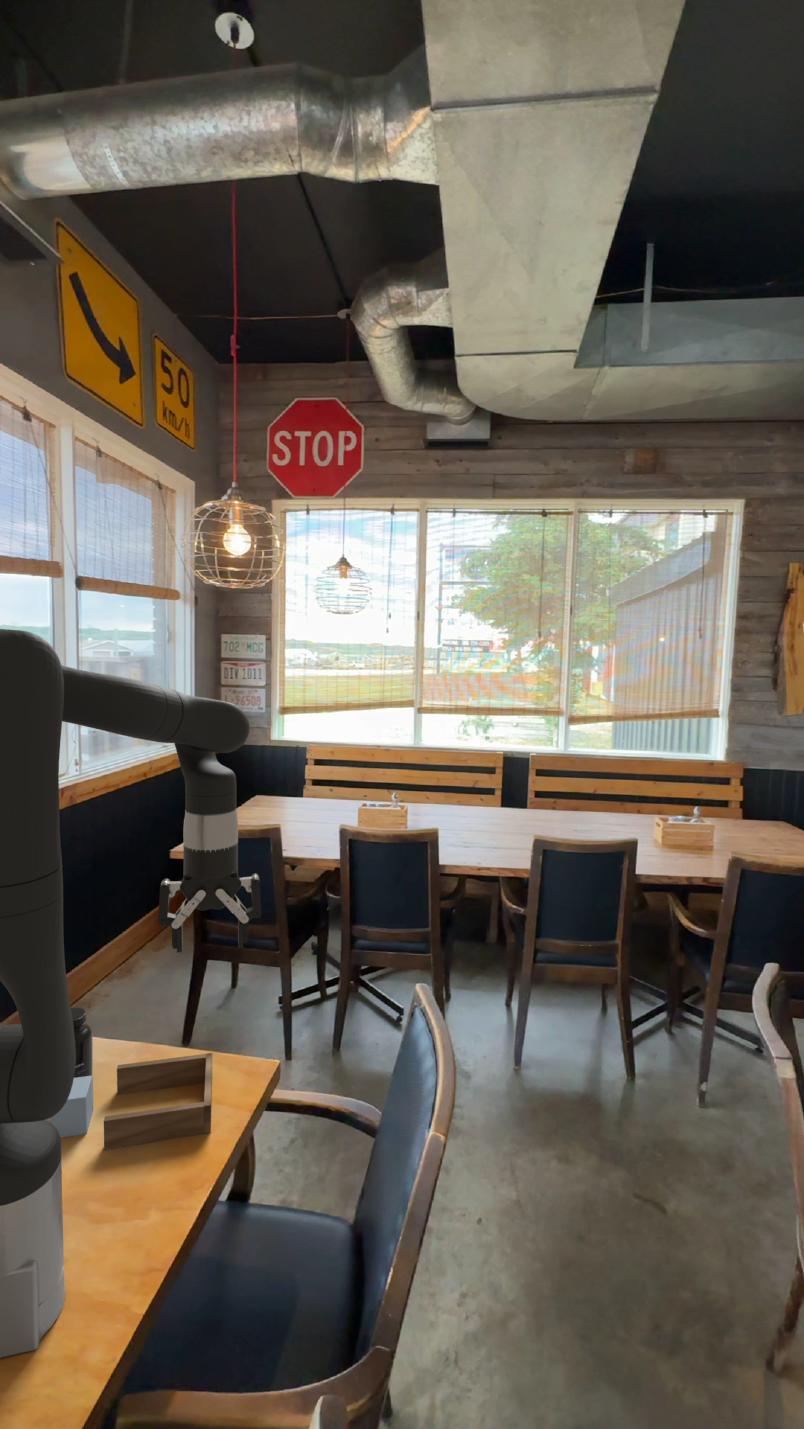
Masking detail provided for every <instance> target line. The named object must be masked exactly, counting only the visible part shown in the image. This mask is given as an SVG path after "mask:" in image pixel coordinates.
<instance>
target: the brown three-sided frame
mask: <svg viewBox="0 0 804 1429" xmlns="http://www.w3.org/2000/svg"><path fill="white" fill-rule="evenodd" d="M202 1083H204V1094H203V1097H204V1098H203V1101H201V1102H194V1103H188V1104H180V1105H174V1106H173V1105H172V1106H168V1107H167V1106H166V1107H160V1108H153V1109H152V1108H151V1109H146V1110H140V1111H139V1110H138V1111H134V1112H133V1111H132V1112H125V1113H119V1114H113V1115H105V1116H104V1119H103V1150H109V1149H111V1150H112V1149H117V1148H122V1147H129V1146H134V1145H142V1144H146V1143H147V1144H148V1143H155V1142H160V1141H169V1140H172V1139H174V1140H175V1139H179V1138H185V1137H193V1136H197V1135H205V1134H210V1133H212V1108H213V1107H212V1104H213V1102H212V1100H213V1096H212V1095H213V1052H209V1053H202V1054H193V1055H186V1056H178V1057H170V1058H169V1057H168V1058H162V1059H155V1060H147V1061H139V1062H132V1063H125V1064H124V1063H122V1064H117V1067H116V1084H117V1085H116V1088H117V1089H116V1094H117V1095H124V1094H130V1093H136V1092H137V1093H139V1092H145V1091H152V1090H157V1089H158V1090H159V1089H160V1090H161V1089H166V1088H174V1087H181V1086H189V1085H195V1084H202Z"/></svg>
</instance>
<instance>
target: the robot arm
mask: <svg viewBox="0 0 804 1429" xmlns="http://www.w3.org/2000/svg"><path fill="white" fill-rule="evenodd" d="M63 722H64V723H69V724H73V725H77V726H81V727H86V728H90V729H96V730H99V731H103V732H108V733H112V734H115V735H120V736H125V737H129V738H133V739H139V740H144V741H150V742H156V743H162V744H163V743H165V744H174V747H175V750H176V755H177V758H178V761H179V765H180V770H181V773H182V775H183V779H184V785H185V788H184V789H185V790H184V793H185V795H184V796H185V798H184V799H185V801H184V802H185V804H184V805H185V810H184V812H185V813H184V820H183V834H182V837H183V877H182V879H181V880H178V881H173V880H172V881H171V879H169V878H163V879H162V880H161V883H160V887H159V901H158V916H157V918H158V919H157V923H158V925H159V926H168V927H170V928H171V947H172V949H173V950H176V953H179V954H180V953H183V949H184V922H185V921H186V919H187V918H189V917H190V915H191V914H192V913H193V912H194V910H195V909H196V910H199V911H200V912H202V911H203V912H204V911H208V910H215V911H218V910H223V908H225V907H226V908H227V909H228V910H229V911H230V913H232V914H233V915H234V916H235V917H236V918H237V919H238V921H237V924H238V927H237V932H238V933H237V934H238V935H237V938H238V939H237V944H238V945H237V946H238V948H244V944H246V943H248V941H249V924H250V923H249V922H250V921H252V920H253V919H259V918H261V916H262V901H261V900H262V899H261V898H262V897H261V884H260V876H259V874H258V873H253V874H251V875H250V876H243V877H241V876H240V874H239V871H238V870H239V833H240V832H239V824H238V823H239V821H238V820H239V819H238V814H237V777H236V774H235V772H234V771H233V770H232V769H231V768H229V767H227V766H225V765H222V764H221V763H220V762H219V761H218V759H217V756H216V753H220V754H227V753H231V752H235V751H237V750H238V749H239V748H241V747H242V746H243V745H244V744H245V743H246V742H247V739H248V737H249V733H250V722H249V718H248V716H247V714H246V713H245V712H244V711H243V709H241V708H240V707H239V706H238V705H236V704H235V703H232V702H227V701H224V700H219V699H212V698H207V697H201V696H195V695H190V694H186V693H182V692H180V691H178V690H175V689H171V688H168V687H165V686H162V685H159V684H155V683H151V682H147V681H141V680H137V679H133V678H128V677H122V676H116V675H111V674H105V673H98V672H92V671H87V670H83V669H78V668H75V667H74V668H73V667H71V666H70V667H69V666H67V665H66V666H65V665H62V663H61V660H60V657H59V656H58V654H57V652H56V650H55V649H54V647H53V646H52V645H51V644H50V643H49V642H48V641H47V640H46V639H45V638H44V637H41V635H38V634H36V633H33V632H30V631H26V630H22V629H21V630H20V629H10V628H9V629H8V628H7V629H3V628H0V982H1V983H2V984H3V986H4V988H5V989H6V990H7V991H8V993H9V995H10V996H11V998H12V1000H13V1002H14V1004H15V1006H16V1010H17V1012H18V1016H19V1020H20V1023H19V1024H18V1023H16V1024H14V1023H13V1024H0V1359H1V1358H4V1357H6V1358H7V1357H9V1356H10V1357H11V1356H14V1355H18V1354H22V1353H27V1352H32V1351H35V1350H37V1349H38V1348H39V1346H40V1342H41V1340H42V1338H43V1337H44V1335H45V1334H46V1333H47V1332H48V1331H49V1329H50V1328H51V1327H53V1325H54V1324H55V1321H56V1320H57V1319H58V1318H59V1316H60V1314H61V1311H62V1310H63V1306H64V1304H65V1297H66V1296H65V1290H66V1289H65V1288H66V1287H65V1261H64V1260H65V1259H64V1258H65V1257H64V1219H63V1218H64V1216H63V1215H64V1214H63V1212H64V1210H63V1175H62V1174H63V1173H62V1172H63V1170H62V1168H63V1167H62V1142H61V1138H60V1135H59V1132H58V1130H57V1129H56V1127H55V1126H54V1125H53V1124H52V1123H50V1121H48V1120H50V1118H51V1117H53V1116H54V1115H56V1114H57V1113H58V1112H59V1111H60V1110H61V1109H62V1108H63V1106H64V1105H65V1103H66V1101H67V1099H68V1097H69V1095H70V1092H71V1088H72V1085H73V1079H74V1073H75V1059H76V1052H75V1037H74V1028H73V1021H72V1014H71V1008H72V1007H71V1002H70V1001H71V1000H70V996H69V995H70V994H69V993H70V992H69V989H68V988H69V987H68V982H67V971H66V960H65V958H66V957H65V941H64V881H63V880H64V876H63V874H64V873H63V858H62V857H63V856H62V855H63V854H62V848H61V833H60V832H61V830H60V829H61V828H60V825H61V824H60V823H61V822H60V781H59V780H60V779H59V773H60V772H59V771H60V755H61V754H60V753H61V740H62V739H61V738H62V727H63ZM241 887H244V889H245V891H246V892H247V893H251V907H247V908H246V906H244V904H243V903H242V901H241V900H240V899H239V898H238V896H237V892H238V891H239V890H240V889H241ZM178 891H180V893H182V894H183V896H184V897H185V900H184V901H182V903H181V905H180V907H179V908H178V909H177V910H176V912H175V913H171V912H170V910H169V909H170V899H171V898H173V897H175V895H176V892H178Z"/></svg>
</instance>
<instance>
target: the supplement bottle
mask: <svg viewBox="0 0 804 1429" xmlns="http://www.w3.org/2000/svg"><path fill="white" fill-rule="evenodd" d="M71 1014H72V1021H73V1028H74V1037H75V1052H76V1059H75V1073H74V1078H77V1077H85V1076H93V1066H94V1065H93V1062H94V1060H93V1058H94V1057H93V1052H94V1051H93V1047H94V1046H93V1043H94V1042H93V1037H94V1036H93V1029H92V1027H91V1025H90V1024H89V1023H87V1011H86V1010H85V1009H84V1008H82V1007H77V1006H75V1007H71Z"/></svg>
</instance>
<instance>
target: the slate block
mask: <svg viewBox="0 0 804 1429" xmlns="http://www.w3.org/2000/svg"><path fill="white" fill-rule="evenodd" d="M93 1078H94V1077H93V1075H92V1076H85V1077H77V1078H74V1079H73V1085H72V1088H71V1092H70V1095H69V1097H68V1099H67V1101H66V1103H65V1105H64V1106H63V1108H62V1109H61V1110H60V1111H59V1112H58V1113H57V1114H56V1115H54V1116H53V1117H51V1118H49V1122H50V1123H52V1124H53V1125H54V1126H55V1127H56V1129H57V1130H58V1132H59V1135H60V1139H61V1138H64V1137H72V1136H80V1135H81V1136H82V1135H86V1134H88V1130H89V1127H90V1123H91V1120H92V1117H93V1113H94V1079H93Z"/></svg>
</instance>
